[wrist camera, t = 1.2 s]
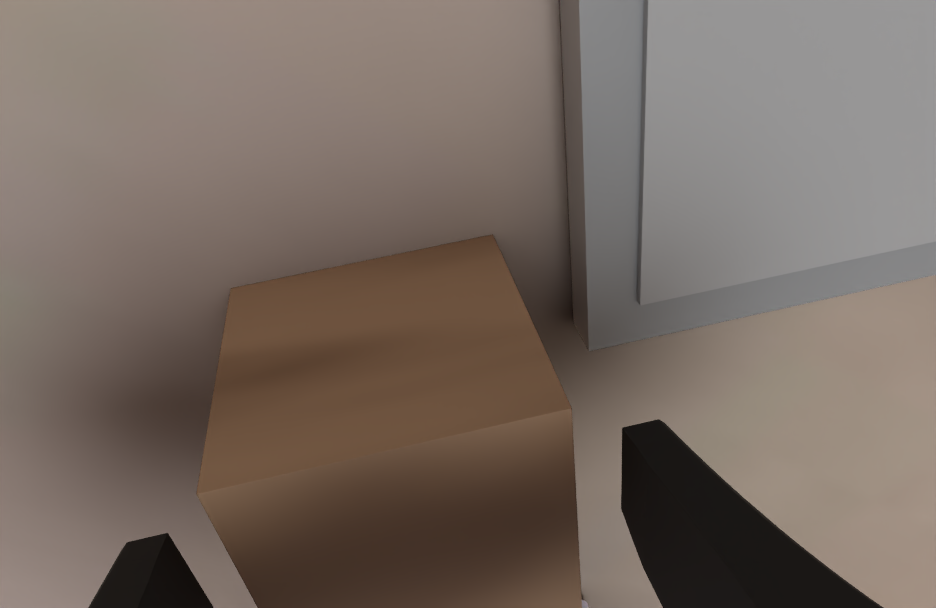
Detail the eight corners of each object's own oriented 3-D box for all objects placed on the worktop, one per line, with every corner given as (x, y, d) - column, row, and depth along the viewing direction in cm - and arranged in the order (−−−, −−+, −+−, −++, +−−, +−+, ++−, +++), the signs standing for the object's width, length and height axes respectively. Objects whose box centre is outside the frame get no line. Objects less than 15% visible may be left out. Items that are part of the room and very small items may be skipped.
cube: (513, 417, 16) (582, 612, 12) (301, 465, 16) (299, 684, 12) (491, 232, 13) (571, 408, 9) (230, 285, 13) (196, 494, 9)
